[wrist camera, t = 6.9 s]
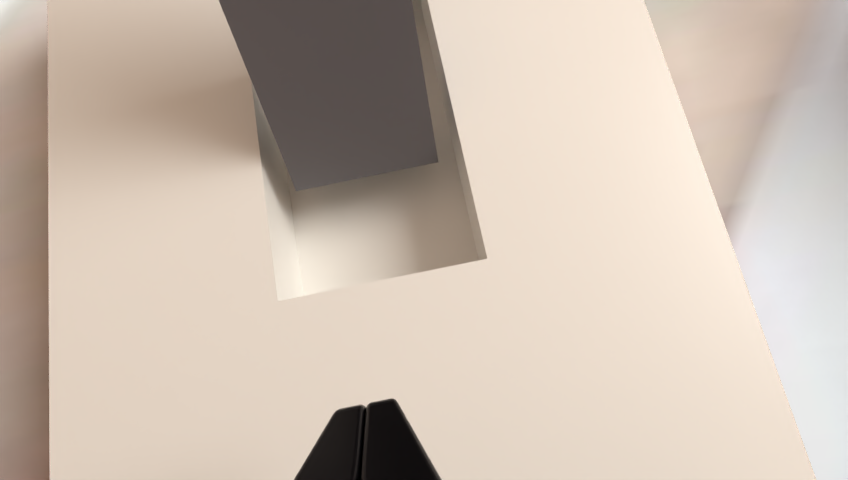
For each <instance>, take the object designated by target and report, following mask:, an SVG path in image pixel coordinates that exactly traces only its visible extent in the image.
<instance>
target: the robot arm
mask: <svg viewBox="0 0 848 480" xmlns="http://www.w3.org/2000/svg"><path fill="white" fill-rule="evenodd" d="M294 480H441V478H440V476H439V474H438V472H437V471H436V469H435V467H434V465H433V464H432V462H431V460H430V458H429V457H428V455H427V453H426V451H425V449H424V448H423V446H422V444H421V442H420V441H419V439H418V437H417V435H416V434H415V432H414V430H413V428H412V426H411V425H410V423H409V421H408V419H407V418H406V416H405V414H404V412H403V411H402V409H401V407H400V405H399V404H398V402H397V401H396V400H395V399H393V398H390V399H385V400H380V401H375V402H371V403H369V404H368V405H367V407H365V406H364V405H355V406H350V407H345V408H341V409H338V410H336V411H335V412H334V413H333V415H332V417H331V418H330V420H329V422H328V423H327V425H326V427H325V428H324V430H323V432H322V433H321V435H320V437H319V438H318V440H317V442H316V443H315V445H314V447H313V448H312V450H311V452H310V453H309V455H308V457H307V458H306V460H305V462H304V463H303V465H302V467H301V468H300V470H299V472H298V473H297V475H296V477H295V478H294Z"/></svg>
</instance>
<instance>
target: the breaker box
mask: <svg viewBox="0 0 848 480" xmlns="http://www.w3.org/2000/svg"><path fill="white" fill-rule="evenodd" d="M412 5H413V11H414V17H415V23H416V29H417V35H418V41H419V47H420V53H421V59H422V65H423V71H424V77H425V84H426V90H427V96H428V102H429V108H430V114H431V120H432V126H433V132H434V138H435V144H436V150H437V156H438V162H437V163H432V164H427V165H422V166H417V167H412V168H408V169H403V170H398V171H393V172H388V173H383V174H378V175H373V176H368V177H364V178H359V179H354V180H349V181H344V182H339V183H334V184H329V185H325V186H320V187H315V188H310V189H305V190H300V191H296V190H295V187H294V185H293V182H292V180H291V177H290V175H289V172H288V170H287V168H286V165H285V163H284V160H283V158H282V155H281V153H280V150H279V148H278V145H277V143H276V140H275V138H274V136H273V133H272V131H271V128H270V126H269V123H268V121H267V118H266V116H265V113H264V111H263V108H262V106H261V103H260V101H259V99H258V96H257V94H256V91H255V89H254V86H253V84H252V81H251V79H250V76H249V74H248V71H247V69H246V67H245V64H244V62H243V59H242V57H241V54H240V52H239V49H238V47H237V44H236V42H235V39H234V37H233V35H232V32H231V30H230V27H229V25H228V22H227V20H226V17H225V15H224V12H223V10H222V7H221V5H220V3H219V0H47V36H48V250H49V463H50V480H294V478H295V477H296V475H297V473H298V472H299V470H300V468H301V467H302V465H303V463H304V462H305V460H306V458H307V457H308V455H309V453H310V452H311V450H312V448H313V447H314V445H315V443H316V442H317V440H318V438H319V437H320V435H321V433H322V432H323V430H324V428H325V427H326V425H327V423H328V422H329V420H330V418H331V417H332V415H333V413H334V412H335V411H336V410H338V409H341V408H345V407H350V406H355V405H364V406H365V407H367V405H368V404H369V403H371V402H375V401H380V400H385V399H390V398H393V399H395V400H396V401H397V402H398V404H399V405H400V407H401V409H402V411H403V412H404V414H405V416H406V418H407V419H408V421H409V423H410V425H411V426H412V428H413V430H414V432H415V434H416V435H417V437H418V439H419V441H420V442H421V444H422V446H423V448H424V449H425V451H426V453H427V455H428V457H429V458H430V460H431V462H432V464H433V465H434V467H435V469H436V471H437V472H438V474H439V476H440V478H441V480H816V477H815V475H814V472H813V469H812V466H811V463H810V461H809V458H808V455H807V452H806V450H805V447H804V444H803V441H802V438H801V436H800V433H799V430H798V427H797V425H796V422H795V419H794V416H793V413H792V411H791V408H790V405H789V402H788V400H787V397H786V394H785V391H784V388H783V386H782V383H781V380H780V377H779V375H778V372H777V369H776V366H775V363H774V361H773V358H772V355H771V352H770V350H769V347H768V344H767V341H766V338H765V336H764V333H763V330H762V327H761V325H760V322H759V319H758V316H757V313H756V311H755V308H754V305H753V302H752V300H751V297H750V294H749V291H748V288H747V286H746V283H745V280H744V277H743V275H742V272H741V269H740V266H739V263H738V261H737V258H736V255H735V252H734V250H733V247H732V244H731V241H730V238H729V236H728V233H727V230H726V227H725V225H724V222H723V219H722V216H721V213H720V211H719V208H718V205H717V202H716V200H715V197H714V194H713V191H712V188H711V186H710V183H709V180H708V177H707V175H706V172H705V169H704V166H703V163H702V161H701V158H700V155H699V152H698V150H697V147H696V144H695V141H694V138H693V136H692V133H691V130H690V127H689V125H688V122H687V119H686V116H685V113H684V111H683V108H682V105H681V102H680V100H679V97H678V94H677V91H676V88H675V86H674V83H673V80H672V77H671V75H670V72H669V69H668V66H667V63H666V61H665V58H664V55H663V52H662V50H661V47H660V44H659V41H658V38H657V36H656V33H655V30H654V27H653V25H652V22H651V19H650V16H649V13H648V11H647V8H646V5H645V2H644V0H412Z"/></svg>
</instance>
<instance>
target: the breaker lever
mask: <svg viewBox="0 0 848 480" xmlns="http://www.w3.org/2000/svg"><path fill="white" fill-rule="evenodd" d="M219 3H220V5H221V7H222V10H223V12H224V15H225V17H226V20H227V22H228V25H229V27H230V30H231V32H232V35H233V37H234V39H235V42H236V44H237V47H238V49H239V52H240V54H241V57H242V59H243V62H244V64H245V67H246V69H247V71H248V74H249V76H250V79H251V81H252V84H253V86H254V89H255V91H256V94H257V96H258V99H259V101H260V103H261V106H262V108H263V111H264V113H265V116H266V118H267V121H268V123H269V126H270V128H271V131H272V133H273V136H274V138H275V140H276V143H277V145H278V148H279V150H280V153H281V155H282V158H283V160H284V163H285V165H286V168H287V170H288V172H289V175H290V177H291V180H292V182H293V185H294V187H295V190H296V191H300V190H305V189H310V188H315V187H320V186H325V185H329V184H334V183H339V182H344V181H349V180H354V179H359V178H364V177H368V176H373V175H378V174H383V173H388V172H393V171H398V170H403V169H408V168H412V167H417V166H422V165H427V164H432V163H437V162H438V156H437V150H436V144H435V138H434V132H433V126H432V120H431V114H430V108H429V102H428V96H427V90H426V84H425V77H424V71H423V65H422V59H421V53H420V47H419V41H418V35H417V29H416V23H415V17H414V11H413V5H412V0H219Z"/></svg>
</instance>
